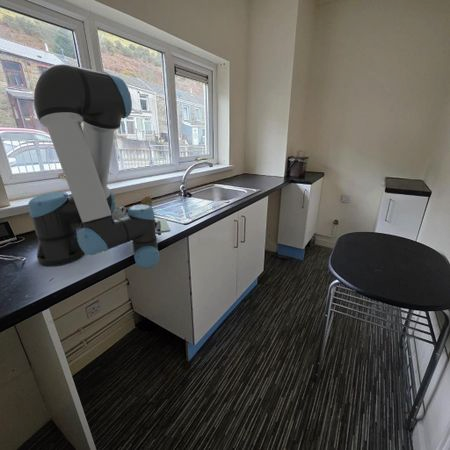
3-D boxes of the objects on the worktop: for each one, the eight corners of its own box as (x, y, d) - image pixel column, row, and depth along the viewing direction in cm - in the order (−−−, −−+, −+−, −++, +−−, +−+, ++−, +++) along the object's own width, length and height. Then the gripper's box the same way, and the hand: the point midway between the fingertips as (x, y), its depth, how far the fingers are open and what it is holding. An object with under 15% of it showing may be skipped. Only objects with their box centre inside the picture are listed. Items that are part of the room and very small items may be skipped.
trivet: (141, 234, 109) (141, 233, 108) (139, 222, 123) (139, 221, 123) (170, 231, 113) (170, 229, 113) (165, 219, 128) (165, 218, 128)
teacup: (106, 229, 114) (103, 213, 111) (97, 224, 121) (94, 209, 118) (133, 222, 124) (131, 207, 121) (123, 217, 131) (121, 203, 128)
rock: (139, 214, 128) (156, 208, 134) (132, 200, 129) (150, 195, 135) (136, 221, 138) (153, 215, 143) (130, 208, 138) (146, 202, 144)
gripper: (114, 254, 86) (116, 231, 105) (173, 245, 93) (165, 225, 112) (111, 235, 83) (114, 215, 103) (172, 227, 90) (163, 209, 110)
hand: (140, 220), depth 108 cm, fingers closed on beech block, 8 cm apart
